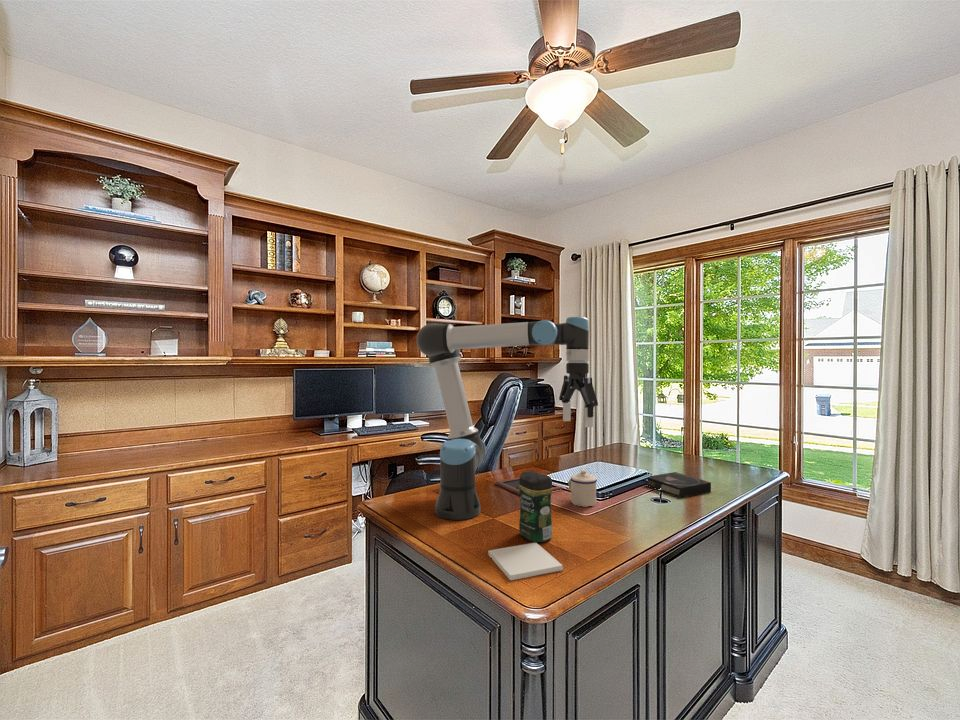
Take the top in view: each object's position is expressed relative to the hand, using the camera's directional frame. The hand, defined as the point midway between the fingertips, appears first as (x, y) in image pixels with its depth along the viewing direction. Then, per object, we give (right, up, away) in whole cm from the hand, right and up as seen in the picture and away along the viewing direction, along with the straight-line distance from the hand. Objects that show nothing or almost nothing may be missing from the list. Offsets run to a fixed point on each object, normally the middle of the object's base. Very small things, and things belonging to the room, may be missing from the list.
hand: (577, 424), depth 152 cm
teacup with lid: (+2, -29, +6) cm, 29 cm away
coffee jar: (-17, -29, -24) cm, 42 cm away
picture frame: (-11, -29, +25) cm, 40 cm away
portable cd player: (+44, -29, +21) cm, 56 cm away
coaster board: (-22, -29, -40) cm, 54 cm away
